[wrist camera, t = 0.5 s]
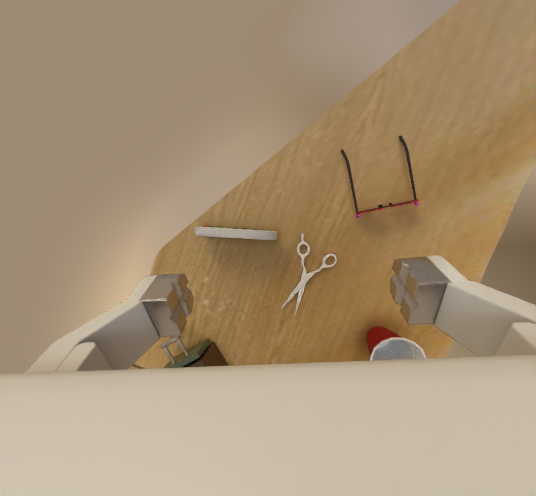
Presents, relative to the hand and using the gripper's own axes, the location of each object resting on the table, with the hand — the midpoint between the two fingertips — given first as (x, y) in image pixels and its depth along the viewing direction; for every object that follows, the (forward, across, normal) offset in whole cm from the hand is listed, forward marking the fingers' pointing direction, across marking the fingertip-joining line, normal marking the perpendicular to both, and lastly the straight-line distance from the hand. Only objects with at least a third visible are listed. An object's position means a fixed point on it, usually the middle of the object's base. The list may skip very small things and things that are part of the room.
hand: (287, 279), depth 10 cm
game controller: (+47, -12, -21) cm, 53 cm away
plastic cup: (+34, +20, -47) cm, 61 cm away
